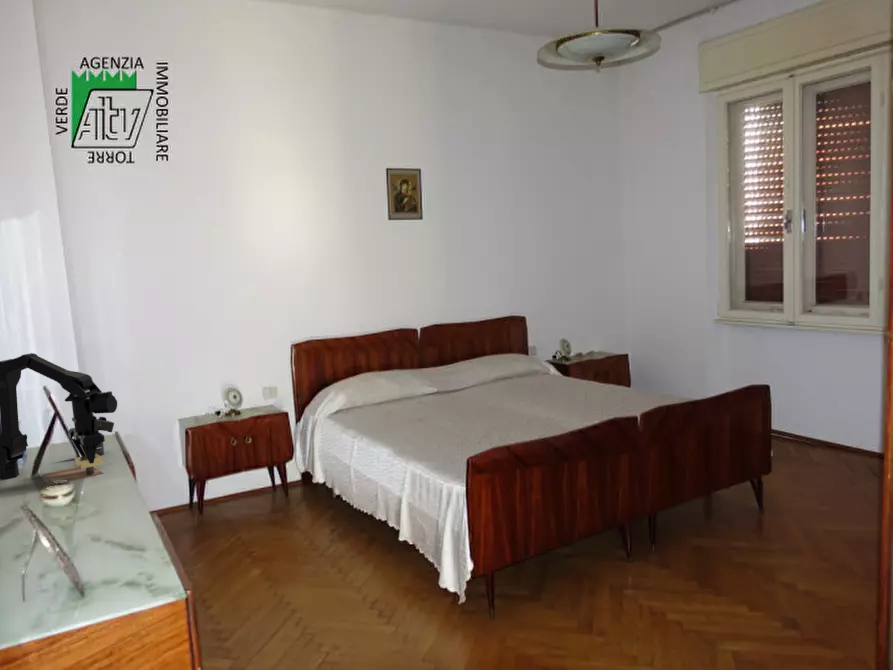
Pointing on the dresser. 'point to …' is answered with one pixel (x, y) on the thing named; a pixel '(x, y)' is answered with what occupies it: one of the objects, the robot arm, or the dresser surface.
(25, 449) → the robot arm
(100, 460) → the wooden square frame
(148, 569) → the dresser surface
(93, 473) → the keeper board
